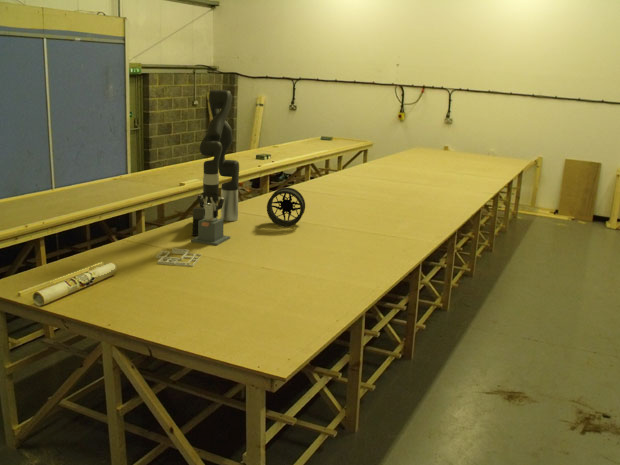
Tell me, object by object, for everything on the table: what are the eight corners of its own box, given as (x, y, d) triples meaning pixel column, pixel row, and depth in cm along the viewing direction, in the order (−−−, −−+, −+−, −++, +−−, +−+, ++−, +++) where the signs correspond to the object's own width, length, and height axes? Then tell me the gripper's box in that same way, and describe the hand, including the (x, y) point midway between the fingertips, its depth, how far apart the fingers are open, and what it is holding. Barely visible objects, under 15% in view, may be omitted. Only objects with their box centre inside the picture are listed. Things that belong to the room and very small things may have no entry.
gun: (191, 234, 304) (192, 204, 305) (195, 236, 333) (195, 209, 334) (204, 235, 305) (205, 205, 306) (207, 237, 334) (208, 209, 335)
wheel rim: (304, 223, 340) (306, 188, 334) (302, 228, 331) (304, 191, 325) (268, 221, 341) (269, 186, 336) (266, 225, 333) (267, 189, 327)
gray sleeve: (205, 234, 311) (205, 215, 308) (230, 238, 306) (230, 218, 304) (191, 241, 298) (191, 221, 295) (216, 245, 294) (216, 225, 291)
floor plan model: (151, 250, 284) (151, 246, 283) (204, 254, 281) (204, 250, 281) (136, 263, 266) (136, 259, 265) (192, 267, 263) (192, 263, 263)
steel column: (209, 234, 304) (209, 203, 300) (216, 235, 303) (217, 204, 299) (204, 236, 300) (204, 204, 296) (212, 237, 299) (212, 205, 295)
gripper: (227, 182, 296) (227, 217, 300) (201, 179, 300) (201, 213, 305) (220, 185, 289) (220, 220, 293) (193, 182, 293) (194, 216, 298)
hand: (210, 216), depth 299 cm, fingers closed on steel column, 4 cm apart
